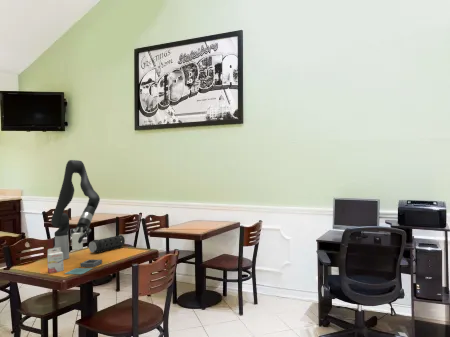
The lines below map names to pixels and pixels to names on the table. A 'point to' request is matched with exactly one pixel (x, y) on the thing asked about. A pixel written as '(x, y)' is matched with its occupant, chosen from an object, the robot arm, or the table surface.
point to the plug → (76, 242)
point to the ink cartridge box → (55, 260)
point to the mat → (78, 271)
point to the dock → (91, 263)
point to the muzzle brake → (106, 244)
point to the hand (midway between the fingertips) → (75, 242)
